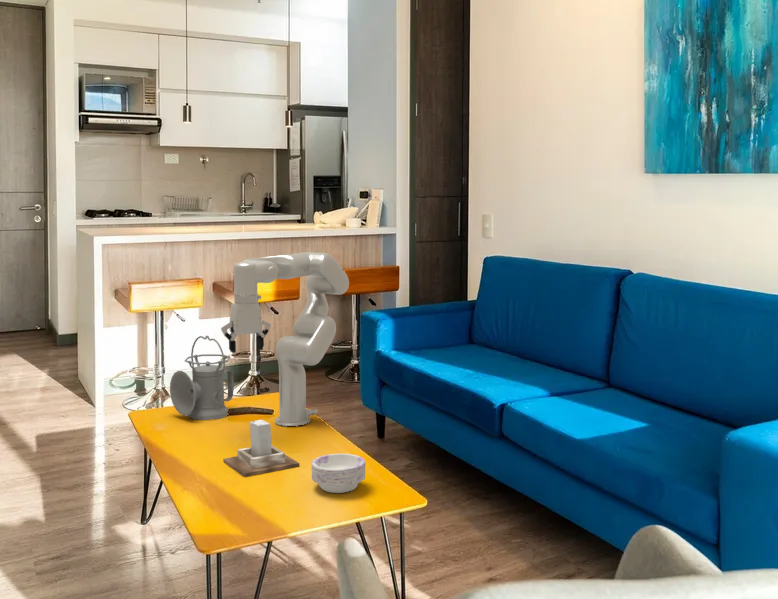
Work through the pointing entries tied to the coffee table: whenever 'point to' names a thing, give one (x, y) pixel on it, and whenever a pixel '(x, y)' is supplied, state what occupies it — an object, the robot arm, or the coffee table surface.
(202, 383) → the lantern
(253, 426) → the skincare box
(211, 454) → the coffee table surface
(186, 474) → the coffee table surface
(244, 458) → the socket board
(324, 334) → the robot arm
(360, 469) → the paper bowls
